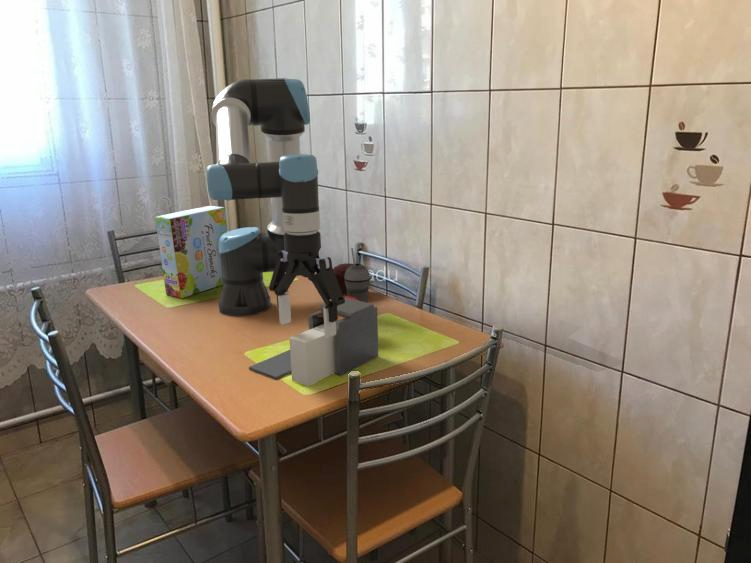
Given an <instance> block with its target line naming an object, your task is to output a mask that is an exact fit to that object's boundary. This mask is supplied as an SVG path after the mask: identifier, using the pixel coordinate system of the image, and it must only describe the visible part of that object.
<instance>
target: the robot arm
mask: <svg viewBox="0 0 751 563" xmlns="http://www.w3.org/2000/svg"><path fill="white" fill-rule="evenodd" d="M308 101H309V100H308V96H307V91H306V88H305V84H304V83H303V82H302V81H301V80H300V79H298V78H297V79H296V78H287V77H284V78H283V77H282V78H281V77H280V78H279V77H278V78H260V79H259V78H253V79H250V78H247V79H241V80H236V81H234V82H231V83H230V84H228V85H227V86H226V87H224V88H223V89H222V90H221V91H220V92H219V93H218V94H217V95H216V97H215V98H214V100H213V102H212V106H211V111H210V112H211V120H212V123H213V125H214V126H215V138H216V140H215V141H216V147H215V148H216V153H215V154H216V163H215V164H210V165H208V166H207V167H206V182H207V192H208V197H209V198H210V199H211V200H213V201H228V202H229V201H235V200H236V201H237V200H251V199H270V200H271V201H270V203H271V204H270V207H271V219H272V220H271V221H270V222H269V224H267V227H266V228H267V231H263V232H261V230H260V228H259V227H256V226H252V227H251V226H247V227H240V228H237V229H232V230H230V231H229V230H228V231H227V233H225V234H223V235H222V236H221V237H220V240H219V245H220V250H219V253H220V256H221V269H222V280H223V285H221V292H220V295H219V300H218V310H219V313H221V314H223V315H228V316H236V317H237V316H238V317H241V316H251V315H257V314H260V313H263V312H265V311H268V310H269V309H271V307H272V301H271V300H272V299H271V296H270V294H269V292H268V289H269V291H270V292H274V294H275V295H276V306H277V309H278V315H279V316H278V318H279V325H281V326H283V325H286V324H287V325H288V324H289V323H291V322H292V315H291V314H292V312H291V298H290V296H291V295H290V293H289V288H290V286H291V285H292V284H293V282H294V280H295V279H296V277H297V276H298V277H299V276H302V277H303V278H307V279H308V280H309V281H310V282H312V284H313V286H314V287H315V289H316V291H317V292H318V293H317V294H319V296H320V298H321V299H322V301H323V302H324V304H326V306H325V307H323V312H324V333H325V338H329V337H331V336H333V335H336V321H337V319H338V316H337V306H338V305H341V304H343V303H345V299H344V297H343V294H342V291H341V289H340V286H339V284H338V281H337V279H336V276H335V274H334V271H333V268H334V267H333V261H332V258H331V257H329V256H328V257H325V258H321V257H320V254H319V252H320V251H321V248H322V241H321V240H322V239H321V238H322V236H321V233H320V231H319V230H320V229H321V219H320V206H319V205H320V204H319V181H318V180H319V169H318V163H317V162H318V161H317V158H316V156H315V155H313V154H307V153H306V154H305V153H303V154H302V153H301V147H300V146H301V144H300V143H301V142H300V137H302V135H303V134H305V130H306V129H305V126H307V125H309V124H310V123H311V118H310V117H311V114H310V107H309V102H308ZM249 126H252V127H253V126H259V127H260V133H261V134H262V135H263V136H264V137H266V139H267V140H266V141H267V155H268V162H267V161H266V162H252V156H251V147H250V136H249V135H250V134H249ZM270 272H271V273H272V276H271V279H270V282H269V286H268V289H267V286H266V284H265V282H264V275H263V273H270Z"/></svg>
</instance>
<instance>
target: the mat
mask: <svg viewBox="0 0 751 563" xmlns="http://www.w3.org/2000/svg"><path fill="white" fill-rule="evenodd" d="M248 369H249V370H250V371H253V372H254V373H257V374H260V375H263V376H265V377H268V378H271V379H274V380H278V379H280V378H282V377H284V376H287V375H289V374H292V372H291V356H290V349H288V350H285V351H284V352H281V353H279V354H277V355H273V356H272V357H270V358H269V357H268V358H266V359H264V360H262V361H260V362H257V363H255V364H253V365H251V366H250V365H249V366H248Z"/></svg>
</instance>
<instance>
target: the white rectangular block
mask: <svg viewBox="0 0 751 563" xmlns="http://www.w3.org/2000/svg"><path fill="white" fill-rule="evenodd" d="M288 340H289V350H290V356H291V380H292V381H293V382H295V383H299V384H301V385H304V386H307V387H310V386H312V385H314V384H316V383H318V382H319V380H320V381H321V379H322V380H324V379H326V378H327V376H328V377H329V375H330V376H332V375H333V374H336V373H337V369H336V345H335V335H333V336H331V337H329V338H325V333H324V324H322V325H320V326H317V327H315V328H312V329H310V330H309V329H308V330H305V331H303V332H300V333H298V334H296V335H292V336H291V337H288ZM335 372H336V373H335ZM331 374H332V375H331ZM325 377H326V378H325ZM323 378H324V379H323ZM317 381H318V382H317ZM315 382H316V383H315ZM313 383H314V384H313Z"/></svg>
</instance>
